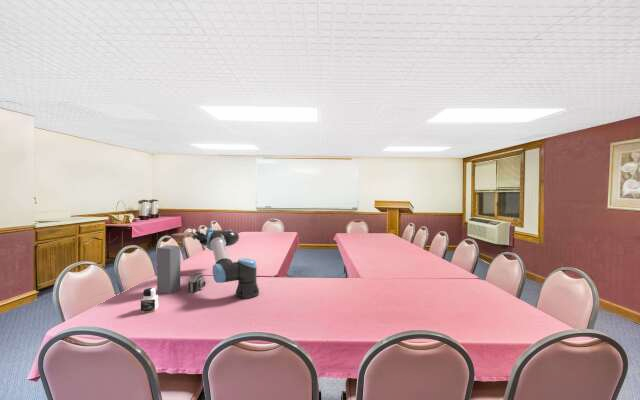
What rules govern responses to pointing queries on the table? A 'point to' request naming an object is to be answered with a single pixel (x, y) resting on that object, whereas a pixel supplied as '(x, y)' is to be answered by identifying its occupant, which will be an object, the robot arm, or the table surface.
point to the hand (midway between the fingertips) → (190, 230)
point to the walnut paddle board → (182, 235)
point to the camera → (196, 282)
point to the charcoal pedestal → (168, 269)
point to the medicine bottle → (149, 300)
